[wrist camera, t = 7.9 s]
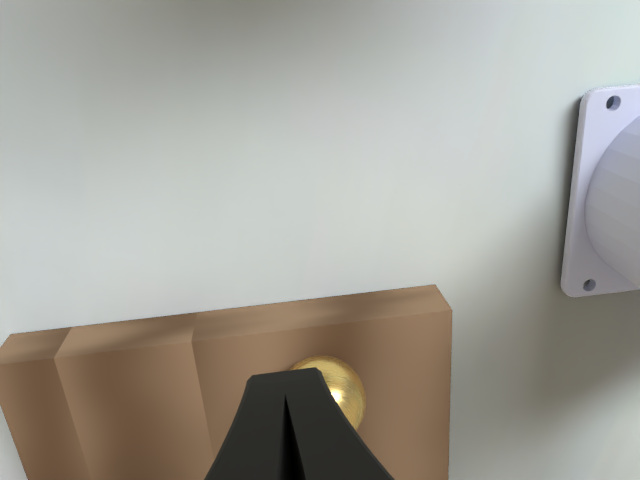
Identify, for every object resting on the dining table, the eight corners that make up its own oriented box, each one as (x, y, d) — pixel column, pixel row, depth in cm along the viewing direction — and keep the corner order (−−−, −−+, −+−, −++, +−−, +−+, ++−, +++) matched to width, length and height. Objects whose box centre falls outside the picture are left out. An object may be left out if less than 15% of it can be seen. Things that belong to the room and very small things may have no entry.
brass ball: (355, 333, 19) (372, 386, 17) (359, 402, 21) (375, 462, 18) (271, 344, 19) (274, 399, 16) (279, 412, 20) (283, 474, 18)
